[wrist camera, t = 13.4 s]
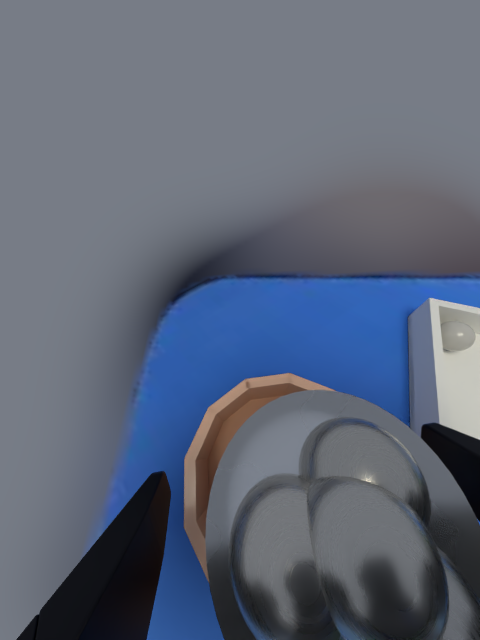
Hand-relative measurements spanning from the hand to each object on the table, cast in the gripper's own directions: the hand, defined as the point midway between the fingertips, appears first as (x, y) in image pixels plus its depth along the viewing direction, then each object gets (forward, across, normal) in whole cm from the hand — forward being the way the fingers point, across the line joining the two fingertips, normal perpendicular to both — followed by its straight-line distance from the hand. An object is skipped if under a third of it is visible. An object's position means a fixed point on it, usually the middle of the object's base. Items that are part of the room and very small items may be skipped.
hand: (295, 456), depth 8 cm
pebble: (+10, -16, +2) cm, 19 cm away
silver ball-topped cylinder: (+5, 0, +7) cm, 9 cm away
